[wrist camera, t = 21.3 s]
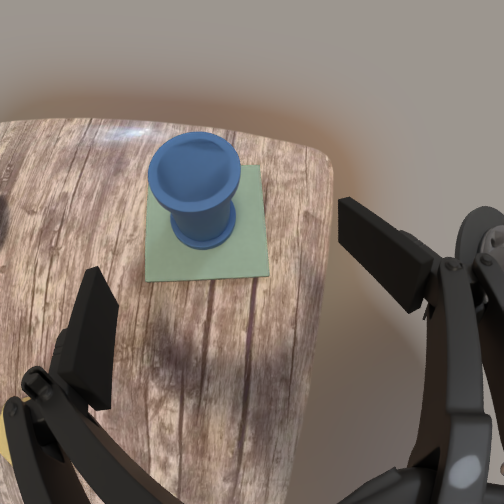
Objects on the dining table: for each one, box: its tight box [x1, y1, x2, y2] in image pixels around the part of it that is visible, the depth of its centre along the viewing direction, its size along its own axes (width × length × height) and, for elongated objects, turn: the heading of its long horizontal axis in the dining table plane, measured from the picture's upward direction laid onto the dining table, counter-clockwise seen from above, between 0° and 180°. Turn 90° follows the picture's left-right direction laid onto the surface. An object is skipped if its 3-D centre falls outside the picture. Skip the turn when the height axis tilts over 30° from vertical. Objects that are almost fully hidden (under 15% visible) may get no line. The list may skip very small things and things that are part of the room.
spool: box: [148, 132, 241, 250], centre depth 23 cm, size 6×6×10 cm
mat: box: [145, 165, 270, 282], centre depth 29 cm, size 12×12×1 cm
